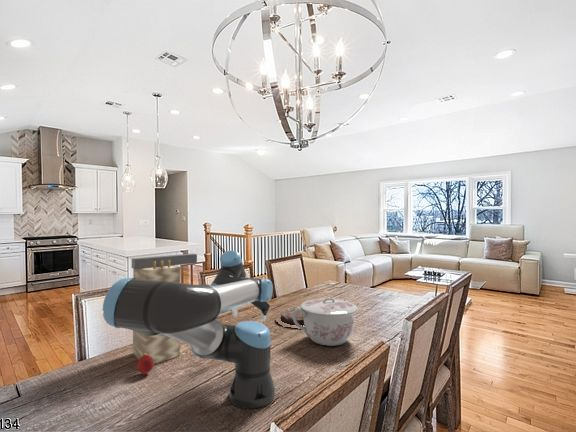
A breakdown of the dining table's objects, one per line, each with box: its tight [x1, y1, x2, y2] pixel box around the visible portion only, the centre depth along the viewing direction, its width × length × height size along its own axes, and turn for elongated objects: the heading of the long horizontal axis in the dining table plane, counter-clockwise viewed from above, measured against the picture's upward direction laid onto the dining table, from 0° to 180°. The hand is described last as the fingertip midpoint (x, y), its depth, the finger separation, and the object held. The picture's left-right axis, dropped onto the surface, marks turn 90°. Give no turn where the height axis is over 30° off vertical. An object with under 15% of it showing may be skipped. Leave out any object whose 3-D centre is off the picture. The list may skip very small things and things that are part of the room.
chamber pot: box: [292, 297, 359, 347], centre depth 154 cm, size 28×28×21 cm
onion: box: [136, 353, 155, 375], centre depth 120 cm, size 6×6×8 cm
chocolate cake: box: [280, 306, 304, 326], centre depth 183 cm, size 28×28×7 cm
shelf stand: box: [132, 260, 181, 365], centre depth 137 cm, size 14×16×41 cm
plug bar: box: [131, 253, 198, 269], centre depth 140 cm, size 27×4×4 cm, turn 132°
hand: (250, 316), depth 139 cm, fingers open, 13 cm apart
